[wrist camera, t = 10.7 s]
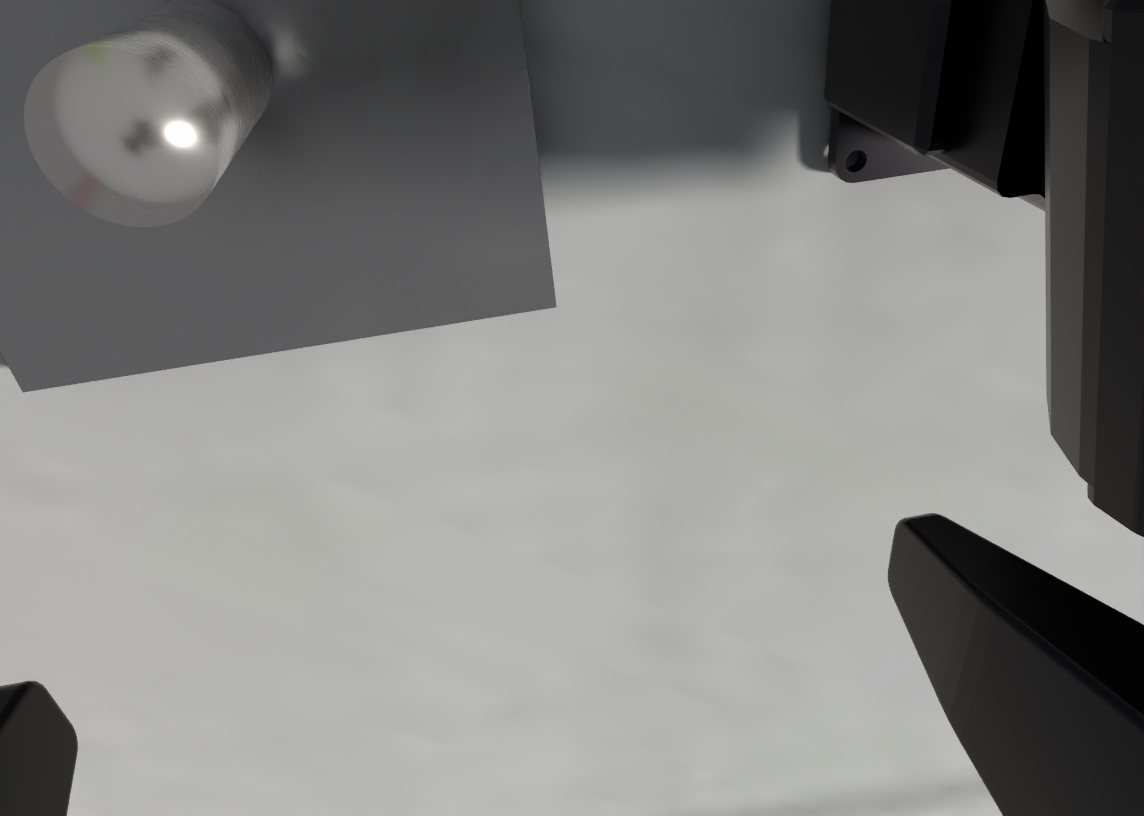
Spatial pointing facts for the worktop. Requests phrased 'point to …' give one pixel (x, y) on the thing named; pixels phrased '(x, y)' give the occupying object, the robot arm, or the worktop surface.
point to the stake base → (258, 178)
